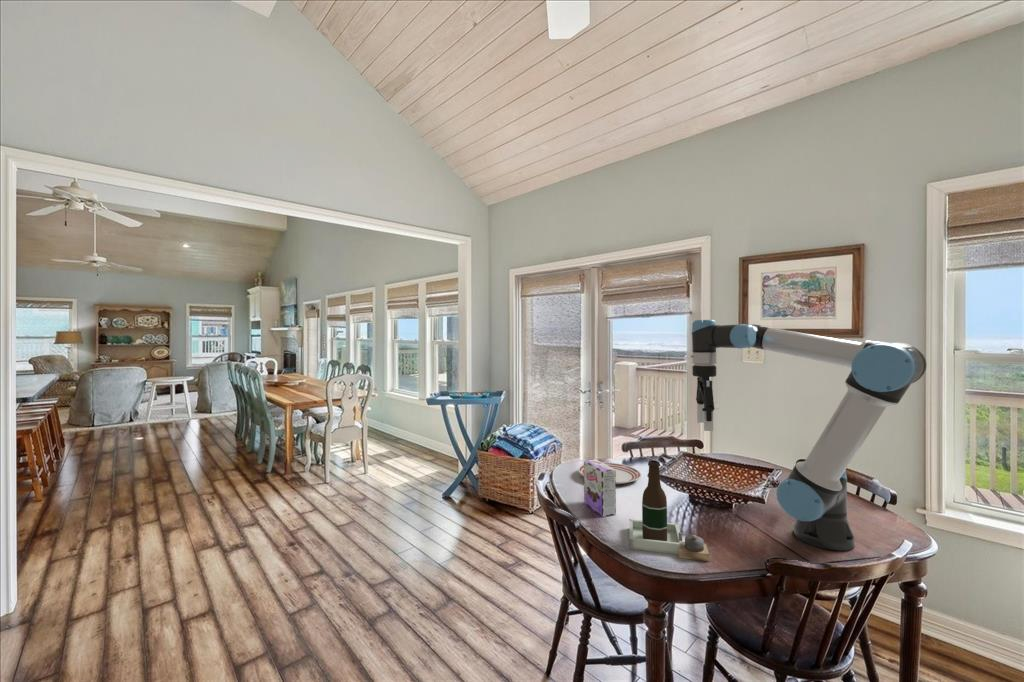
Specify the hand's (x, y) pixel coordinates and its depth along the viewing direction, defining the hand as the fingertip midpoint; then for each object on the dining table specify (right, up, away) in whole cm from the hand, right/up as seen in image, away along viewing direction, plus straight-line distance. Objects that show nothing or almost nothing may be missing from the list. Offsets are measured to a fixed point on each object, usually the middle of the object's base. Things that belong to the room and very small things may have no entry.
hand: (704, 426), depth 147 cm
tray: (-22, -32, -15) cm, 42 cm away
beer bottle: (-22, -32, -15) cm, 42 cm away
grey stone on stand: (-14, -32, -24) cm, 42 cm away
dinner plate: (-23, -32, +44) cm, 59 cm away
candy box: (-34, -32, +10) cm, 48 cm away
